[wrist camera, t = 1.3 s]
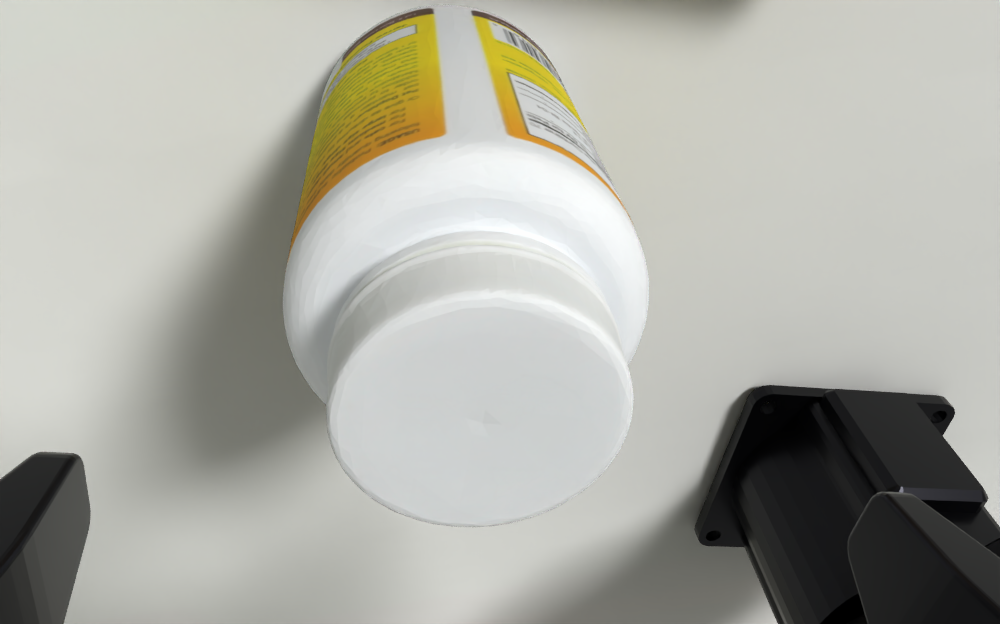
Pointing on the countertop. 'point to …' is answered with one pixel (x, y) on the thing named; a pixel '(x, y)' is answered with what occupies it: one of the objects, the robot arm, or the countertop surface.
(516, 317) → the supplement bottle
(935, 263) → the countertop surface
